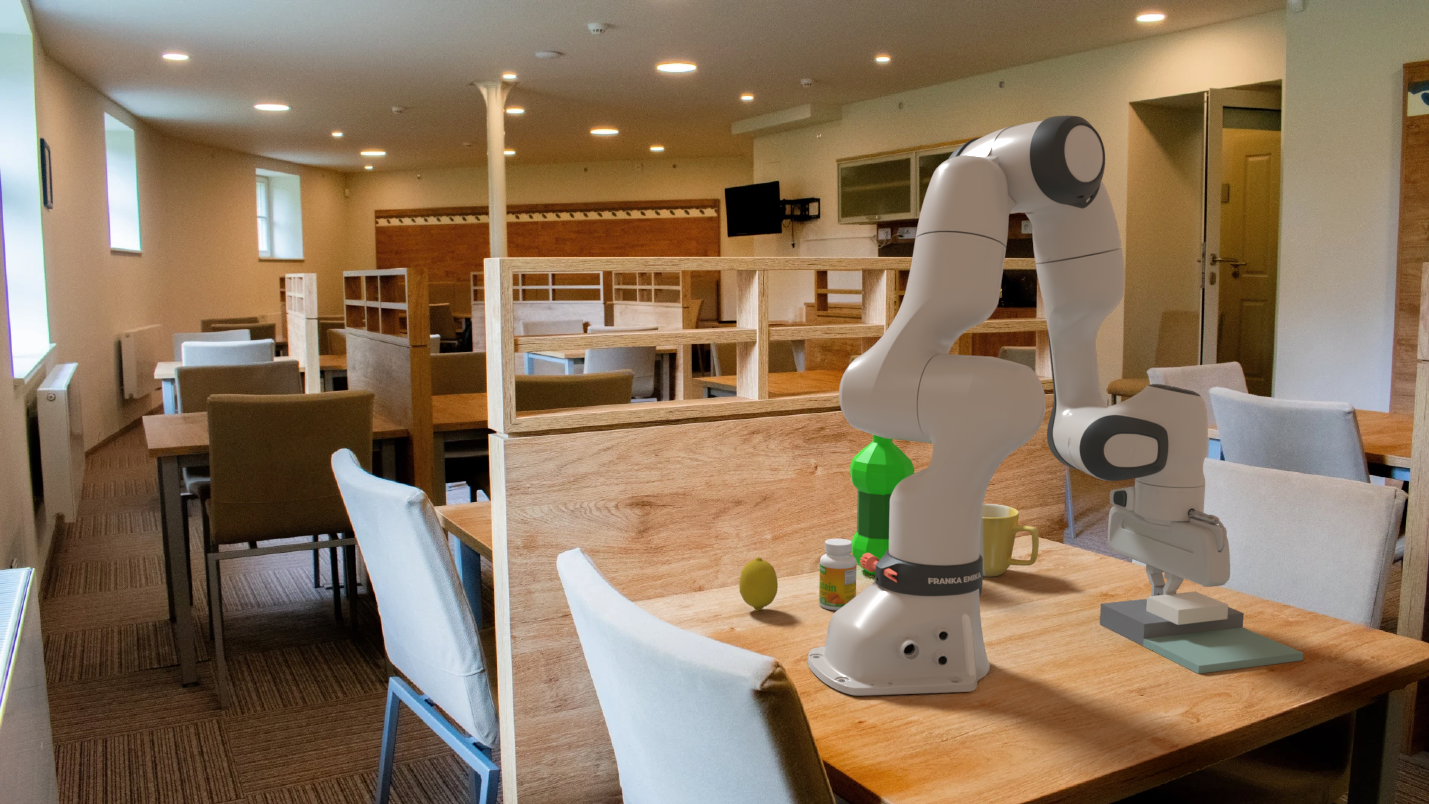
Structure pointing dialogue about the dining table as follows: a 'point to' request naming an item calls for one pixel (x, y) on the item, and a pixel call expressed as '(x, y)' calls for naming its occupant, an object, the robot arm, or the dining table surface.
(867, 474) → the plastic bottle
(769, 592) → the lemon
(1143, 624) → the plate
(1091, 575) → the dining table surface
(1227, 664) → the mat
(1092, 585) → the dining table surface
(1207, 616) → the tile
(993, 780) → the dining table surface
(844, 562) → the supplement bottle
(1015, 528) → the mug
